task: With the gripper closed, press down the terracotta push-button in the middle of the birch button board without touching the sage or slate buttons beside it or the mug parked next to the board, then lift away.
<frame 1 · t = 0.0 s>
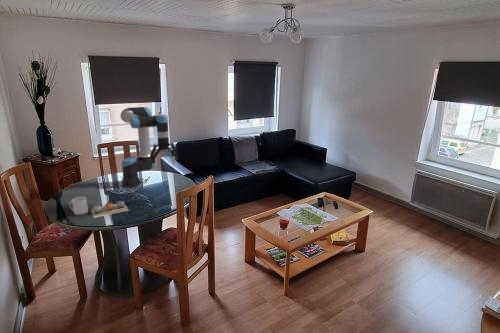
hand: (164, 165, 223), 28 cm above the table, fingers open, 13 cm apart
button board: (109, 211, 214), on the table
mug: (79, 213, 210), on the table
button sage: (97, 209, 209), point 3 cm above the table, slide at 0.0 cm
button terracotta: (109, 207, 213), point 3 cm above the table, slide at 0.0 cm
button slate: (120, 204, 217), point 3 cm above the table, slide at 0.0 cm
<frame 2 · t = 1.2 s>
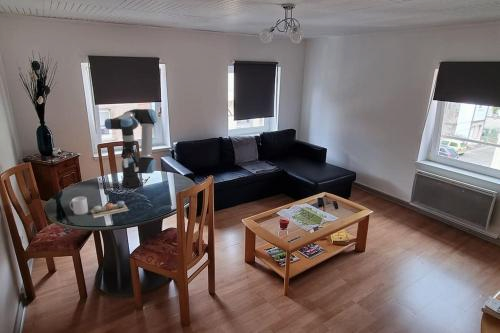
hand: (131, 169, 223), 25 cm above the table, fingers open, 13 cm apart
nothing on the table moved.
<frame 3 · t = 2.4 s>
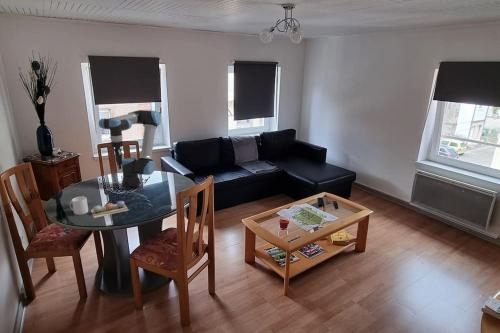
hand: (120, 172, 224), 22 cm above the table, fingers closed
nothing on the table moved.
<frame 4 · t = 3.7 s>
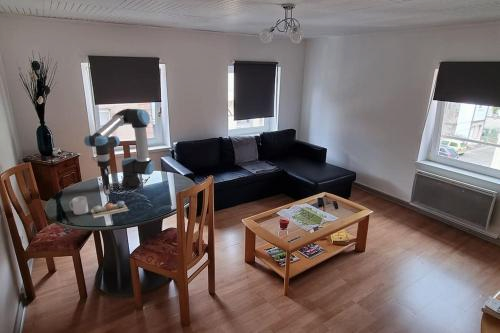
hand: (107, 193, 209), 14 cm above the table, fingers closed
nothing on the table moved.
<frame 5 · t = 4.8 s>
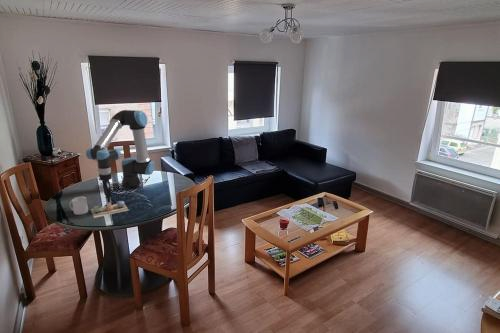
hand: (109, 205, 212), 4 cm above the table, fingers closed
button terracotta: (109, 208, 213), point 2 cm above the table, slide at 1.2 cm, touching gripper
everything else where it was.
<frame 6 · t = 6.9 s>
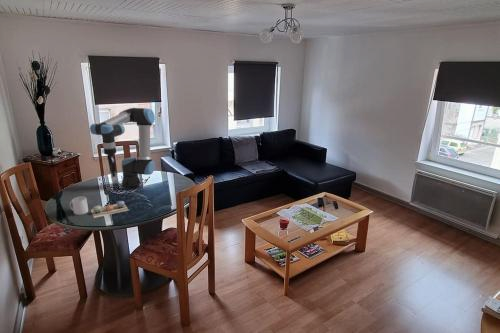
hand: (114, 180, 215), 20 cm above the table, fingers closed
button terracotta: (109, 208, 213), point 2 cm above the table, slide at 1.3 cm
everything else where it was.
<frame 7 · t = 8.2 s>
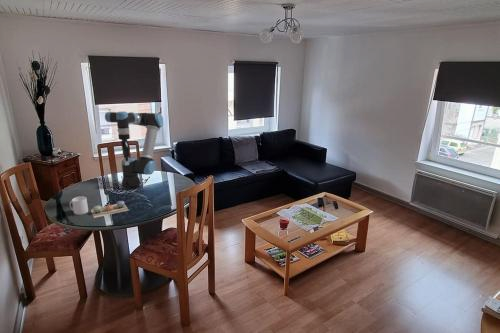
hand: (127, 164, 229), 26 cm above the table, fingers closed
nothing on the table moved.
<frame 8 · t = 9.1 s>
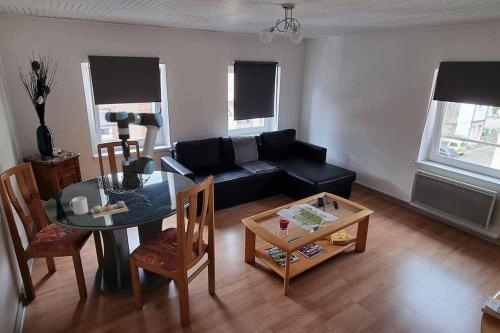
hand: (127, 164, 229), 26 cm above the table, fingers closed
nothing on the table moved.
at the end: button terracotta slide at 1.3 cm; button sage slide at 0.0 cm; button slate slide at 0.0 cm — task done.
